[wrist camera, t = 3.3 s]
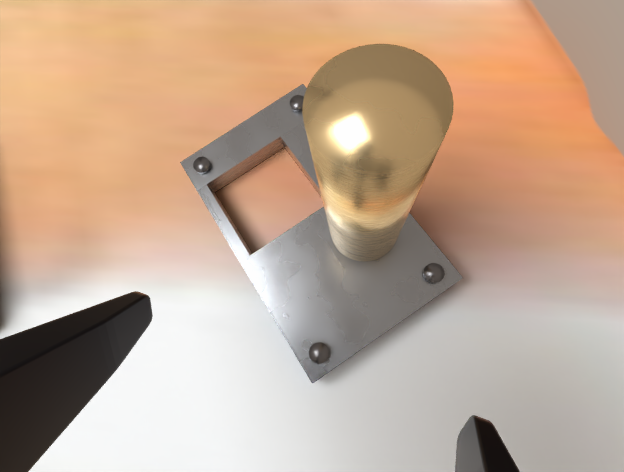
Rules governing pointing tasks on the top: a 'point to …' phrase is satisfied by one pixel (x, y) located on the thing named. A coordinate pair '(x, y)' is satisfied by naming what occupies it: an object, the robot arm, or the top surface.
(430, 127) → the disc
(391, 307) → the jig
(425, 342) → the top surface
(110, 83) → the top surface
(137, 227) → the top surface
